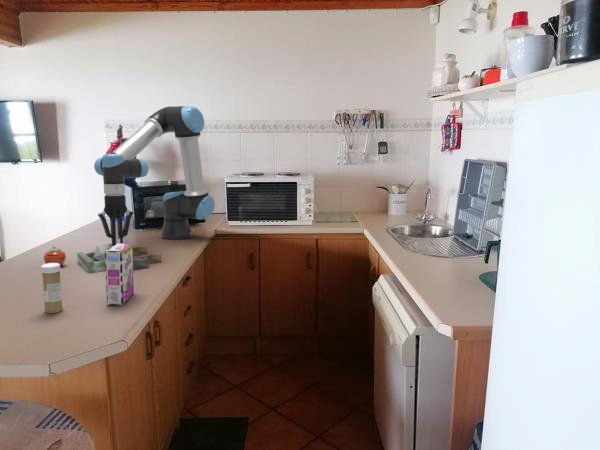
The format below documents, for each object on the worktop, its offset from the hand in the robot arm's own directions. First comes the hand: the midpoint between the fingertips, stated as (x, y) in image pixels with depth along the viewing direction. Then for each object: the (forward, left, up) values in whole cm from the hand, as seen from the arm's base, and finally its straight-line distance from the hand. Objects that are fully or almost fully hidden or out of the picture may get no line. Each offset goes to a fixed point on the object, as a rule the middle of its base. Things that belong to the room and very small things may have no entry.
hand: (117, 254), depth 172 cm
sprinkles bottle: (+30, +42, -4) cm, 51 cm away
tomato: (+21, -7, -4) cm, 22 cm away
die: (+3, -3, -4) cm, 6 cm away
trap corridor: (-1, 0, -4) cm, 4 cm away
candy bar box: (+12, +43, -4) cm, 44 cm away
